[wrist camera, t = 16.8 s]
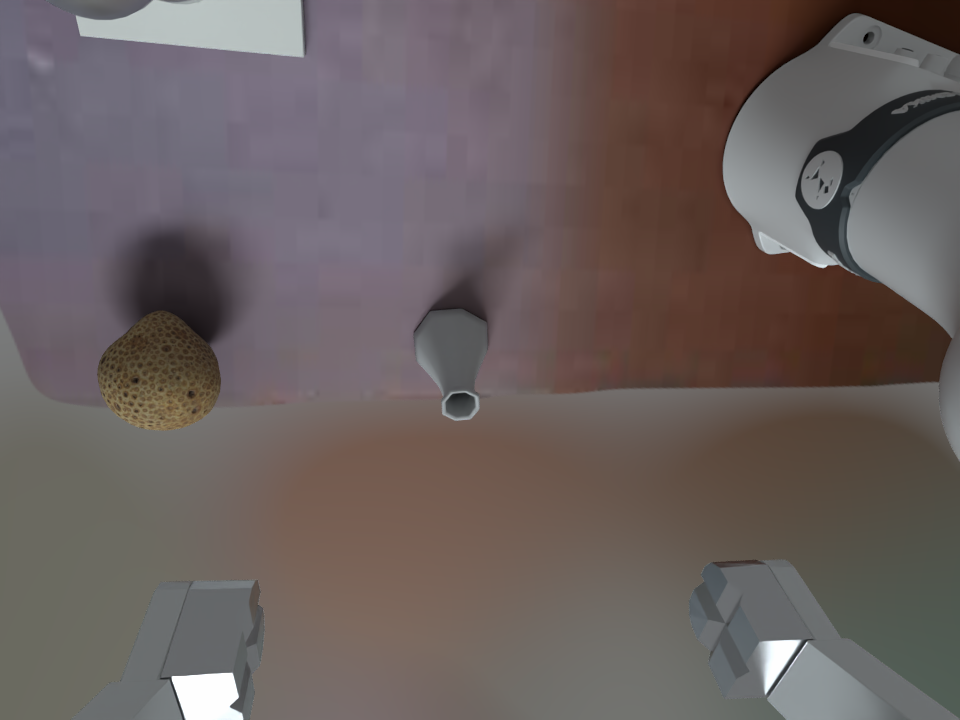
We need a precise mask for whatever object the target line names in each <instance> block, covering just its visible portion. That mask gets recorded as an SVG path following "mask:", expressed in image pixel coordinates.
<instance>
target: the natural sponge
mask: <svg viewBox="0 0 960 720" xmlns="http://www.w3.org/2000/svg"><path fill="white" fill-rule="evenodd" d="M97 375H98V382H99V387H100V390H101V394H102V396H103V398H104V400H105V402H106V403H107V405H108V406H109V408H110V409H111V410H112V411H113V412H114V413H115V414H116V415H117V416H119V417H120V418H122V419H123V420H125V421H127V422H128V423H130V424H131V425H134V426H137V427H140V428H144V429H149V430H173V429H178V428H183V427H186V426H188V425H191V424H193V423H195V422H197V421H199V420H200V419H202V418H203V417H204V416H206V415H207V414H208V413H209V412H210V411H211V410H212V408H213V406H214V405H215V403H216V401H217V398H218V395H219V393H220V385H221V378H220V371H219V366H218V361H217V358H216V356H215V354H214V352H213V350H212V349H211V347H210V346H209V345H208V344H207V343H206V342H205V341H204V340H203V339H202V338H201V337H200V336H199V335H198V334H196V333H195V332H194V331H193V330H192V329H191V328H190V327H189V326H188V325H187V324H186V323H185V322H184V321H183V320H181V319H180V318H179V317H177V316H176V315H174V314H172V313H170V312H167V311H162V310H161V311H155V312H152V313H150V314H147V315H146V316H145V317H143V318H142V319H141V320H139V321H138V322H137V323H136V324H135V325H134V326H133V327H131V328H130V329H129V331H128V332H127V333H126V334H124V335H123V336H122V337H120V338H119V339H118V340H117V341H115V342H114V343H113V344H112V345H111V346H110V347H109V348H108V349H107V350H106V351H105V353H104V354H103V355H102V357H101V360H100V362H99V366H98V374H97Z"/></svg>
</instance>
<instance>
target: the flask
mask: <svg viewBox="0 0 960 720" xmlns="http://www.w3.org/2000/svg"><path fill="white" fill-rule="evenodd" d="M413 336H414V346H415V355H416V361H417V362H418V363H419V364H420V365H421V366H422V368H423V369H424V370H425V371H426V372H427V373H428V374H429V375H430V376H431V377H432V379H433V380H434V381H435V382H436V384H437V385H438V386H439V388H440V390H441V392H442V395H443V398H442V399H441V404H442V414H443V415H445V416H447V417H449V418H451V419H453V420H456V421H457V420H467V419H471V418H472V417H473V416H474V415H475V414H476V412H477V411H478V410H479V409H480V402H479V393H477V392H475V390H474V385H475V379H476V377H477V374H478V371H479V369H480V366H481V364H482V361H483V359H484V357H485V355H486V352H487V350H488V332H487V322H485V321H483V320H482V319H480V318H478V317H476V316H474V315H473V314H471V313H469V312H467V311H465V310H464V309H462V308H461V309H449V310H437V311H430V312H429V313H428V315H427V316H426V317H425V319H424V320H423V322H422V323H421V324H420V326H419V327H418V329H417V330H416V331H415V333H414V334H413Z"/></svg>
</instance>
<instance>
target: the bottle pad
mask: <svg viewBox="0 0 960 720" xmlns="http://www.w3.org/2000/svg"><path fill="white" fill-rule="evenodd" d="M76 19H77V23H78V27H79V32H80V36H88V37H98V38H108V39H119V40H129V41H139V42H150V43H160V44H170V45H181V46H191V47H202V48H212V49H222V50H233V51H243V52H253V53H264V54H274V55H284V56H295V57H304V56H305V36H304V16H303V0H202V1H199V2H197V3H192V4H172V3H167V2H163V1H159V0H153V1H152V2H151V3H149V4H148V5H147V6H146V7H145V8H143V9H141V10H139V11H137V12H135V13H133V14H131V15H129V16H127V17H123V18H119V19H114V20H94V19H89V18H84V17H79V16H77V15H76Z"/></svg>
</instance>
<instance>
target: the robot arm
mask: <svg viewBox="0 0 960 720" xmlns="http://www.w3.org/2000/svg"><path fill="white" fill-rule="evenodd" d="M867 33H868V38H867V40H866V41H865V42H864V43H863V38H864V36H865V35H866V34H867ZM723 178H724V184H725V188H726V191H727V194H728V196H729V199H730V201H731V202H732V204H733V205H734V207H735V208H736V209H737V211H738V212H739V213H740V214H741V215H742V216H743V217H744V218H745V219H746V220H747V221H748V222H749V224H750V225H751V227H752V232H753V236H754V239H755V242H756V245H757V246H758V248H759V249H760V250H762V251H764V252H766V253H768V254H778V253H786V252H792V253H794V254H795V255H797V256H799V257H800V258H802V259H804V260H806V261H807V262H809V263H811V264H813V265H815V266H817V267H822V268H824V267H826V266H827V265H838V264H839V265H840V266H842V267H843V268H845V269H846V270H848V271H850V272H851V273H854V274H856V275H859V276H861V277H863V278H865V279H868V280H870V281H873V282H878V283H883V284H885V285H886V286H888V287H889V288H891V289H892V290H893V291H895V292H896V293H898V294H899V295H901V296H902V297H904V298H905V299H906V300H908V301H909V302H911V303H912V304H913V305H915V306H916V307H918V308H919V309H921V310H922V311H923V312H925V313H926V314H928V315H929V316H930V317H932V318H933V319H934V320H935V321H936V322H938V323H939V324H940V325H941V326H942V327H943V328H944V329H945V330H946V331H947V332H948V334H949V335H950V336H951V337H952V341H951V343H950V345H949V347H948V350H947V353H946V355H945V358H944V361H943V364H942V369H941V373H940V381H939V405H940V414H941V418H942V422H943V426H944V429H945V432H946V435H947V438H948V440H949V442H950V445H951V447H952V449H953V451H954V452H955V454H956V456H957V458H958V459H959V461H960V55H959V54H957V53H954V52H952V51H950V50H947V49H945V48H942V47H940V46H938V45H935V44H933V43H930V42H928V41H926V40H923V39H921V38H919V37H916V36H914V35H911V34H909V33H907V32H904V31H902V30H900V29H897V28H895V27H892V26H890V25H888V24H885V23H883V22H881V21H878V20H876V19H873V18H871V17H869V16H866V15H863V14H859V13H854V14H850V15H848V16H846V17H845V18H844V19H842V20H841V21H840V22H839V23H838V24H837V25H836V26H835V27H834V28H833V29H832V30H831V31H830V32H829V33H828V34H827V35H826V36H825V37H824V38H823V39H822V40H821V41H820V42H819V44H818V45H816V46H815V47H813V48H812V49H810V50H809V51H807V52H806V53H804V54H802V55H800V56H798V57H796V58H795V59H793V60H791V61H789V62H788V63H786V64H784V65H783V66H782V67H780V68H779V69H777V70H776V71H775V72H774V73H772V74H771V75H770V76H769V77H768V78H767V79H765V80H764V81H763V82H762V83H761V84H760V85H759V87H758V88H757V89H756V90H755V91H754V92H753V93H752V95H751V96H750V97H749V99H748V100H747V101H746V103H745V104H744V106H743V107H742V109H741V110H740V112H739V114H738V116H737V118H736V120H735V122H734V124H733V126H732V128H731V131H730V133H729V136H728V139H727V143H726V147H725V152H724V158H723ZM701 576H702V578H703V580H704V582H703V583H702V584H701V585H699V586H698V587H696V588H695V589H694V590H693V593H692V595H691V598H690V600H689V616H690V620H691V624H692V628H693V630H694V632H695V635H696V637H697V639H698V641H700V642H701V643H702V644H703V645H704V646H705V647H707V648H708V649H709V650H710V651H711V652H710V656H709V661H708V664H709V666H710V669H711V671H712V673H713V675H714V677H715V680H716V682H717V684H718V686H719V689H720V691H721V693H722V695H723V697H724V699H735V698H758V697H768V699H767V700H768V701H769V702H770V703H771V704H772V705H773V706H774V707H775V708H776V709H777V710H778V711H779V712H780V713H781V714H782V715H783V716H784V717H785V718H786V719H787V720H960V719H959V718H958V717H956V716H955V715H953V714H952V713H951V712H949V711H948V710H947V709H945V708H944V707H942V706H941V705H940V704H938V703H937V702H936V701H934V700H933V699H931V698H930V697H929V696H927V695H926V694H925V693H923V692H922V691H921V690H919V689H917V688H916V687H915V686H914V685H912V684H911V683H910V682H908V681H907V680H905V679H904V678H903V677H901V676H900V675H899V674H897V673H895V672H894V671H893V670H892V669H890V668H889V667H887V666H886V665H885V664H883V663H882V662H881V661H879V660H878V659H876V658H875V657H874V656H872V655H871V654H870V653H868V652H867V651H865V650H864V649H863V648H861V647H860V646H858V645H857V644H856V643H854V642H853V641H852V640H850V639H849V638H843V639H842V638H841V637H840V636H839V634H838V633H837V631H836V630H835V628H834V627H833V625H832V624H831V622H830V621H829V619H828V618H827V616H826V615H825V613H824V611H823V610H822V608H821V607H820V606H819V604H818V602H817V601H816V600H815V598H814V597H813V595H812V593H811V592H810V590H809V589H808V587H807V586H806V584H805V583H804V581H803V580H802V578H801V577H800V575H799V574H798V572H797V571H796V569H795V568H794V566H793V565H792V564H791V563H789V562H788V561H787V560H764V561H758V560H746V561H728V562H711V563H709V564H708V565H706V566H705V567H704V569H703V571H702V574H701ZM259 597H260V587H259V583H258V580H229V581H228V580H226V581H176V582H161V583H160V584H159V586H158V587H157V589H156V590H155V591H154V593H153V596H152V598H151V601H150V603H149V606H148V609H147V611H146V614H145V617H144V619H143V622H142V625H141V627H140V630H139V633H138V635H137V638H136V640H135V643H134V646H133V649H132V651H131V654H130V656H129V659H128V662H127V664H126V667H125V670H124V672H123V675H122V677H121V680H120V682H110V683H109V684H108V685H107V686H106V687H104V688H103V690H101V691H100V692H99V693H98V694H97V695H96V696H95V697H94V698H93V699H92V700H91V701H90V702H89V703H88V704H87V705H86V706H85V707H84V708H82V709H81V711H79V712H78V713H77V714H76V715H75V716H74V717H73V718H72V719H71V720H250V715H251V710H252V704H253V699H254V694H255V691H254V686H253V679H252V674H253V673H254V671H255V670H256V669H257V668H258V667H259V666H260V662H261V656H262V650H263V642H264V631H265V626H264V612H263V608H262V607H261V606H259V605H258V602H259Z"/></svg>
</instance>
